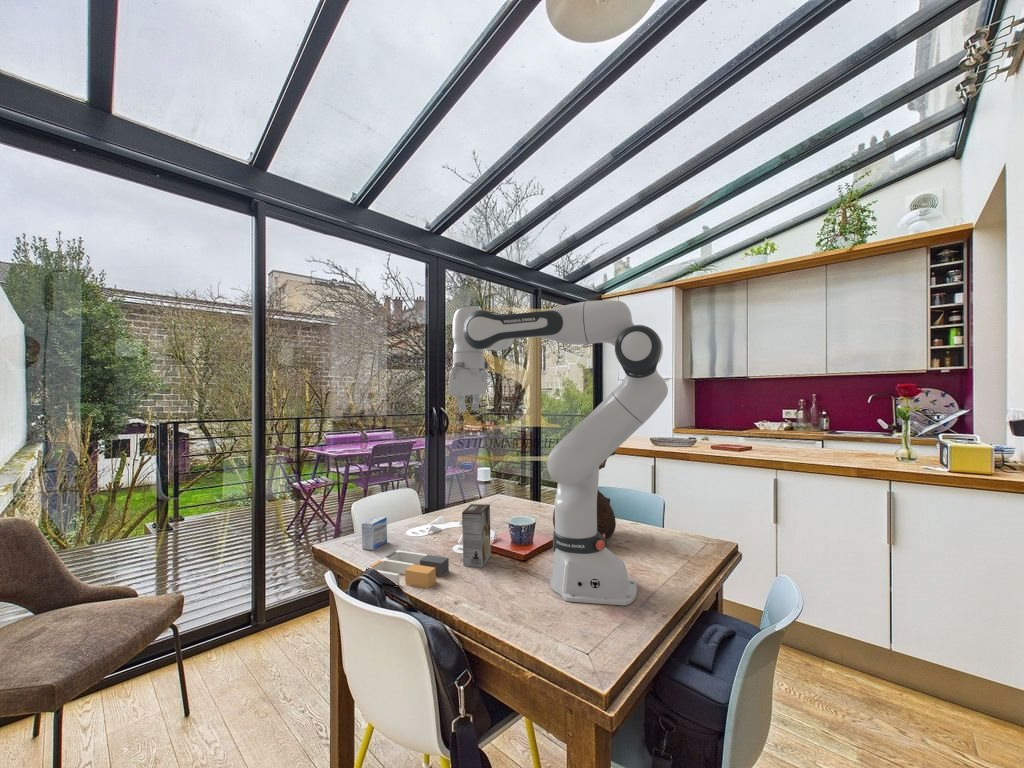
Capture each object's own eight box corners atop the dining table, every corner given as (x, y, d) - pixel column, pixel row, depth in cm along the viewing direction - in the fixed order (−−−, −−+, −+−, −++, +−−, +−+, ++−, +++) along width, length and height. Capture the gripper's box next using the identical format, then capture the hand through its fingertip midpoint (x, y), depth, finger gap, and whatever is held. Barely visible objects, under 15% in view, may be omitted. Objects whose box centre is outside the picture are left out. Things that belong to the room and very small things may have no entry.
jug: (619, 553, 137) (618, 457, 137) (550, 550, 141) (549, 456, 141) (615, 530, 159) (614, 447, 159) (555, 528, 162) (554, 446, 162)
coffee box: (471, 554, 139) (470, 503, 139) (491, 555, 137) (490, 504, 137) (462, 566, 130) (461, 511, 130) (483, 567, 128) (482, 512, 128)
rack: (427, 564, 131) (427, 553, 131) (397, 586, 117) (397, 574, 117) (398, 559, 135) (398, 549, 135) (365, 580, 121) (365, 568, 121)
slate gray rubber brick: (448, 571, 126) (448, 557, 126) (441, 577, 123) (441, 563, 123) (427, 568, 129) (427, 554, 129) (420, 574, 125) (419, 560, 125)
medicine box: (373, 550, 143) (372, 524, 143) (361, 549, 144) (361, 522, 144) (387, 542, 150) (387, 517, 150) (376, 541, 152) (376, 515, 152)
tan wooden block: (435, 582, 120) (435, 567, 120) (427, 588, 116) (427, 573, 116) (414, 578, 122) (413, 564, 122) (405, 584, 119) (405, 570, 119)
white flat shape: (400, 534, 160) (400, 524, 160) (450, 518, 178) (450, 509, 178) (467, 558, 137) (466, 547, 137) (516, 536, 155) (516, 527, 155)
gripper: (464, 361, 116) (464, 413, 116) (490, 364, 136) (491, 409, 136) (442, 362, 118) (443, 413, 118) (471, 364, 138) (472, 409, 138)
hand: (469, 411), depth 127 cm, fingers open, 8 cm apart
